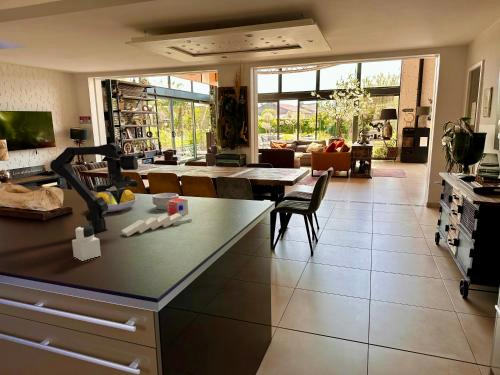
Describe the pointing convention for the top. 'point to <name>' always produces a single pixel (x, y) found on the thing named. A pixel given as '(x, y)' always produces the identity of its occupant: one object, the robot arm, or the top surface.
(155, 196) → the paper bowls
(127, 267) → the top surface
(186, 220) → the tile
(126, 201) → the fruit bowl
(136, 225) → the tile
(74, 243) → the white block with post
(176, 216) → the tile
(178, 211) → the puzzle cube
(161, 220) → the tile
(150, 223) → the tile
